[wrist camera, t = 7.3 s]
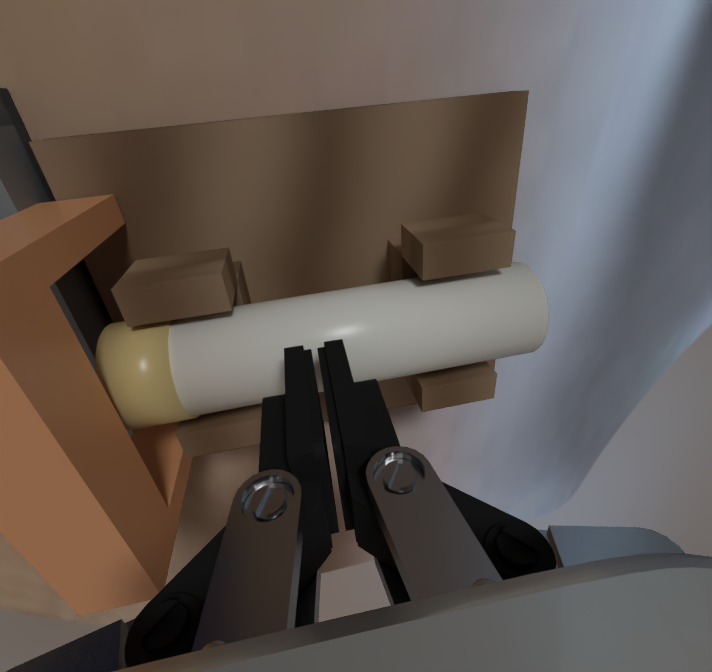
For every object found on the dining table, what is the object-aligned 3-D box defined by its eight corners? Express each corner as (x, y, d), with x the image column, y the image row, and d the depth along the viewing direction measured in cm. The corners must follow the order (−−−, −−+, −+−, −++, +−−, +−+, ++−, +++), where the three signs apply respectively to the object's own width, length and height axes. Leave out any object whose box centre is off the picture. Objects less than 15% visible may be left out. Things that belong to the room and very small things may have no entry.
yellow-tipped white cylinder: (498, 249, 15) (556, 275, 12) (493, 330, 17) (543, 372, 14) (124, 307, 14) (79, 353, 11) (157, 391, 15) (127, 454, 12)
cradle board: (511, 91, 15) (619, 86, 11) (481, 376, 23) (537, 448, 18) (47, 138, 13) (-75, 159, 9) (177, 433, 21) (150, 531, 16)
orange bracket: (113, 194, 14) (-46, 289, 7) (201, 418, 19) (162, 596, 12) (38, 203, 13) (-208, 312, 6) (149, 427, 19) (79, 616, 12)
